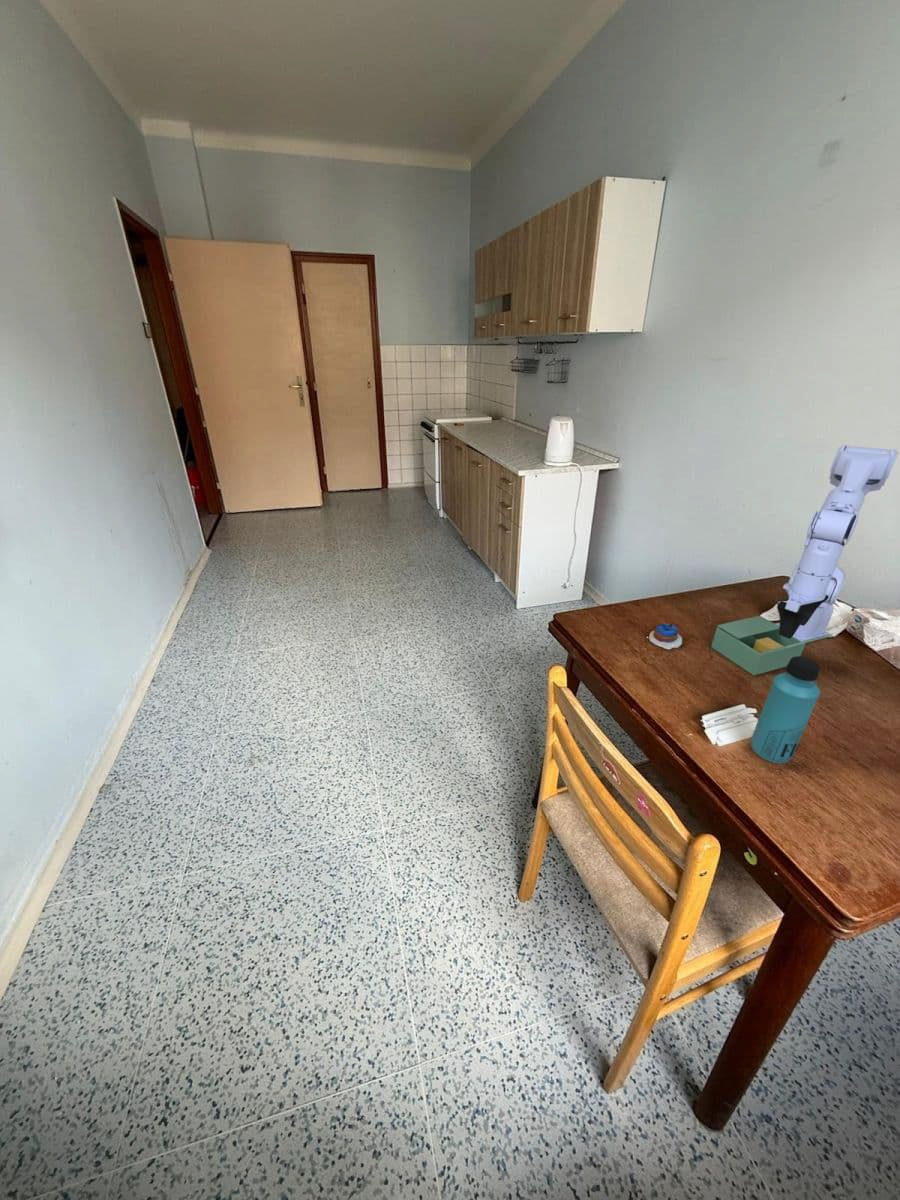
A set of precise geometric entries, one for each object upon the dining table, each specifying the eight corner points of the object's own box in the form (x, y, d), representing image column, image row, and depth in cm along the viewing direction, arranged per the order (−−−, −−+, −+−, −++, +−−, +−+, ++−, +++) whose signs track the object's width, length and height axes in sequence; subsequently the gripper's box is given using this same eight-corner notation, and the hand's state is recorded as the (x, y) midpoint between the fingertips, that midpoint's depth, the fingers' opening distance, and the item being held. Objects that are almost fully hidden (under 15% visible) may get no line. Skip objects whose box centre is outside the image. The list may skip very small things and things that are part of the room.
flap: (831, 634, 97) (832, 635, 97) (806, 640, 103) (807, 642, 103) (785, 646, 94) (786, 647, 94) (762, 652, 99) (762, 653, 99)
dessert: (657, 624, 120) (673, 614, 115) (675, 645, 118) (692, 635, 113) (640, 638, 115) (657, 627, 110) (659, 660, 114) (676, 650, 109)
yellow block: (761, 653, 108) (767, 636, 106) (777, 663, 105) (784, 646, 103) (750, 656, 107) (755, 639, 105) (765, 666, 104) (771, 649, 102)
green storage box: (752, 636, 115) (759, 615, 112) (797, 663, 106) (806, 640, 103) (711, 646, 112) (717, 625, 109) (753, 675, 102) (762, 652, 99)
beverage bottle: (775, 776, 78) (817, 680, 69) (737, 750, 83) (772, 657, 74) (798, 762, 81) (842, 667, 71) (760, 737, 86) (796, 646, 77)
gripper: (804, 555, 99) (784, 611, 105) (777, 574, 91) (757, 634, 97) (845, 565, 94) (821, 623, 101) (820, 587, 86) (795, 648, 93)
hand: (792, 629), depth 99 cm, fingers open, 7 cm apart
